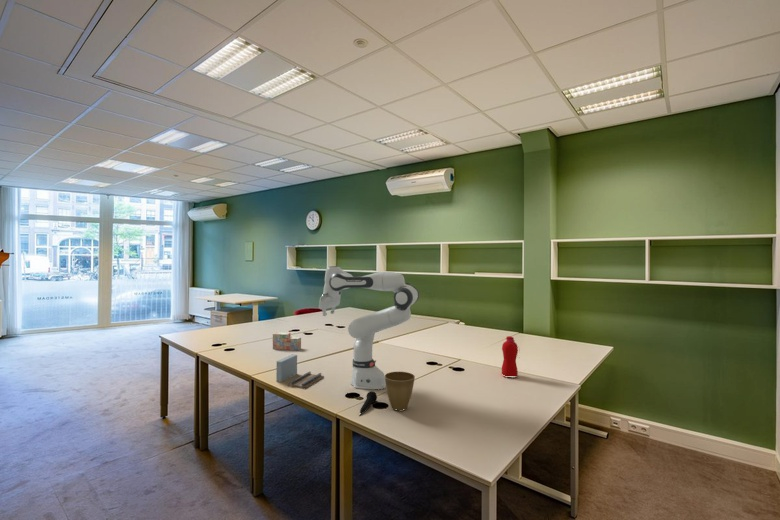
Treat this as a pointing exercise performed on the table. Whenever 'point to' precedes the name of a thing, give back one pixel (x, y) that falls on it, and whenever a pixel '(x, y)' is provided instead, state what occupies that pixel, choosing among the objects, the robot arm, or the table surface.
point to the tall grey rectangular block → (286, 368)
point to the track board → (305, 380)
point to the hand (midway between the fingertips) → (328, 314)
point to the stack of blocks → (286, 341)
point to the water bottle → (509, 357)
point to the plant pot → (399, 388)
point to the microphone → (368, 400)
